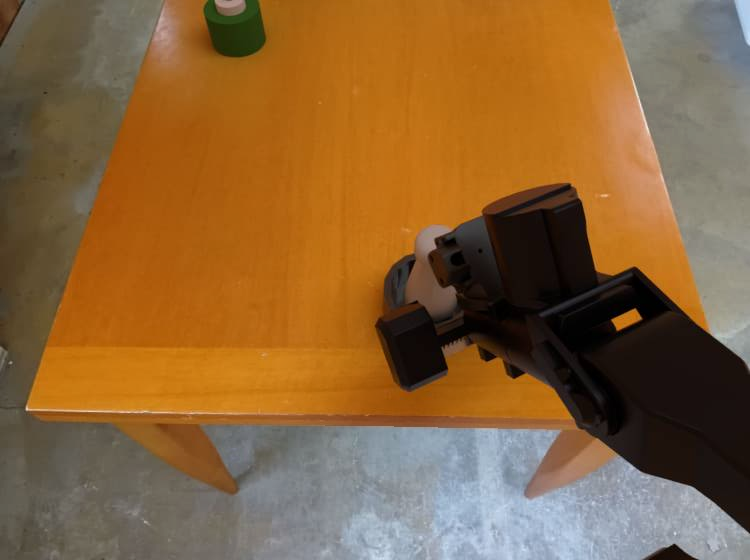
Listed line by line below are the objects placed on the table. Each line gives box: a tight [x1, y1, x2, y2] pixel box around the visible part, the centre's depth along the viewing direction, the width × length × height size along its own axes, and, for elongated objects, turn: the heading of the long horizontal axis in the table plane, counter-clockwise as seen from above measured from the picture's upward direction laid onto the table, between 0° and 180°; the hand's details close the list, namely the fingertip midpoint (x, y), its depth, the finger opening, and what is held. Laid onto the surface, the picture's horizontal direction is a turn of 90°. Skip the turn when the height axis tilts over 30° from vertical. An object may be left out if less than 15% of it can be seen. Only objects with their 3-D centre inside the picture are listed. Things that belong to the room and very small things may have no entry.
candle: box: [202, 0, 267, 58], centre depth 84 cm, size 8×8×10 cm
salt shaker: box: [403, 224, 457, 323], centre depth 57 cm, size 6×6×13 cm
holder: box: [382, 252, 464, 345], centre depth 61 cm, size 10×10×4 cm
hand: (447, 294), depth 55 cm, fingers open, 9 cm apart
